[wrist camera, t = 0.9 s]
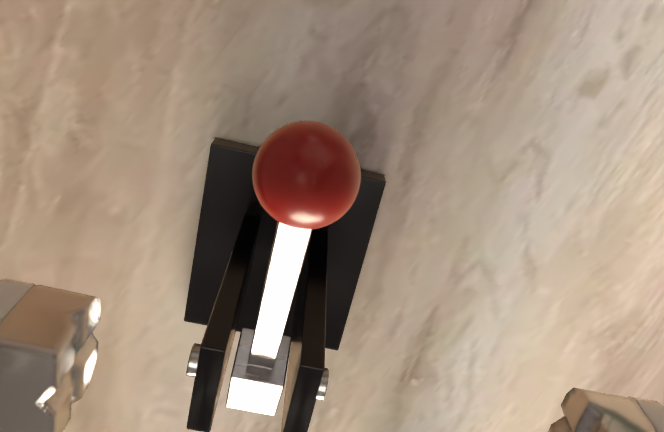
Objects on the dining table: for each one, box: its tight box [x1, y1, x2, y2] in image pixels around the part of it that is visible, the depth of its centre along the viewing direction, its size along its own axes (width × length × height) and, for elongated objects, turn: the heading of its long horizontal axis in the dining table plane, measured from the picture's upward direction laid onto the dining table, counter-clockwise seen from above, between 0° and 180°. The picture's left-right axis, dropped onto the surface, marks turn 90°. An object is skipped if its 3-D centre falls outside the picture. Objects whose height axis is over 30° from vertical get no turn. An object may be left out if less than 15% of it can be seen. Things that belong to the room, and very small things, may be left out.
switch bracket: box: [184, 138, 386, 432], centre depth 31 cm, size 12×10×14 cm
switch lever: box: [226, 121, 361, 416], centre depth 22 cm, size 15×3×3 cm, turn 167°
